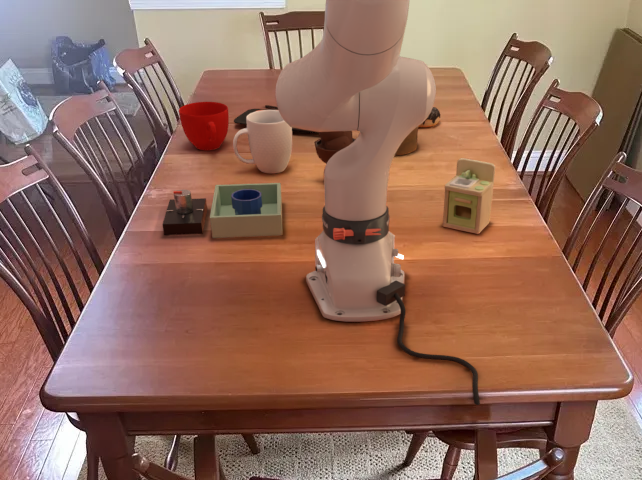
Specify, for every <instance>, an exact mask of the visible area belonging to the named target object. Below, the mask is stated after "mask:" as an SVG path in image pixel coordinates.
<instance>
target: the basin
mask: <svg viewBox="0 0 642 480" xmlns="http://www.w3.org/2000/svg"><path fill="white" fill-rule="evenodd" d="M281 184H282V183H281V182H263V183H262V182H261V183H233V184H232V183H231V184H230V183H229V184H215V185H214V191H213V192H214V193H213V196H212V202H211V209H210V214H209V221H210V222H209V223H210V229H211V237H212V239H222V238H223V239H225V238H249V237H253V238H254V237H274V236H275V237H276V236H277V237H278V236H283V199H282V198H283V197H282V185H281ZM242 189H254V190H258V191H259V192H261V193H262V207H261V214H253V215H235V209H233V208H232V199H231V195H232V193H234V192H235V191H238V190H242Z"/></svg>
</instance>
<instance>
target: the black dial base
mask: <svg viewBox="0 0 642 480" xmlns="http://www.w3.org/2000/svg"><path fill="white" fill-rule="evenodd" d="M192 204H193V211H192V212H191V213H187V214H180V213H177V211H176V206H175V200H174V198H171V199H169V200H168V204H167V207H166V211H165V215H164V218H163V221H162V230H163V235H164V236H177V235H179V236H180V235H203V234H204V229H205V223H206V220H207V219H206V218H207V213H208V203H207V198H206V197H204V198H201V197H200V198H192Z"/></svg>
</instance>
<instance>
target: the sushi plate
mask: <svg viewBox="0 0 642 480" xmlns="http://www.w3.org/2000/svg"><path fill="white" fill-rule="evenodd" d="M264 107H265V108H250V109H248V110H245V111H244V112H242V113H241V114H240V115H238V116H237V117H235V118H234V119H233V123H234V124H235V125H242V126H247V122H246V117H247V115H249V114H250V113H253V112H256V111H261V110H278V107H277V105H276V106H275V105H270V104H269V105H268V104H266V105H265V106H264ZM292 133H301V134H302V133H303V134H319V132H316V131H309V130H303V129H298V128H293V127H292Z"/></svg>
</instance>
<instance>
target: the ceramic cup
mask: <svg viewBox="0 0 642 480" xmlns="http://www.w3.org/2000/svg"><path fill="white" fill-rule="evenodd" d="M178 115H179V120H180V125H181V128H182V130H183V134H184V135H185V137H186V139H187V140H188V141H189V142H190V143H191V144H192V145H193V146H194V148H196V149H197V150H200V151H214V150H217V149H219V148H221V145H222V144H223V143H224V141H225V140H226V137H227V135H228V131H229V122H230V121H229V120H230V119H229V118H230V117H229V107H228V105H227V104H225V103H223V102H218V101H196V102H191V103H187V104H184V105H182V106H180V108H179V109H178Z"/></svg>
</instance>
